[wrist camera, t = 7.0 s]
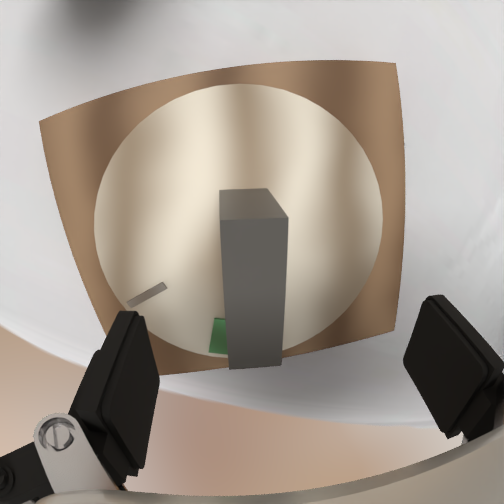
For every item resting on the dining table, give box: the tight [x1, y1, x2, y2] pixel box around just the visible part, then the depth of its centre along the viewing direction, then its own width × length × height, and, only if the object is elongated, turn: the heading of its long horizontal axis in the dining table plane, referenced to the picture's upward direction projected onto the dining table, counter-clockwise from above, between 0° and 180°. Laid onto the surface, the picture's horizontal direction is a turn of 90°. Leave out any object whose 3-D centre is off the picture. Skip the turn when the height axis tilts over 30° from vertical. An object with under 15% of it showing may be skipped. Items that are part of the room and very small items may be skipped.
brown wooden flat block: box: [39, 60, 405, 375], centre depth 20 cm, size 22×20×4 cm
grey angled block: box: [219, 188, 289, 369], centre depth 16 cm, size 12×2×6 cm, turn 1°
